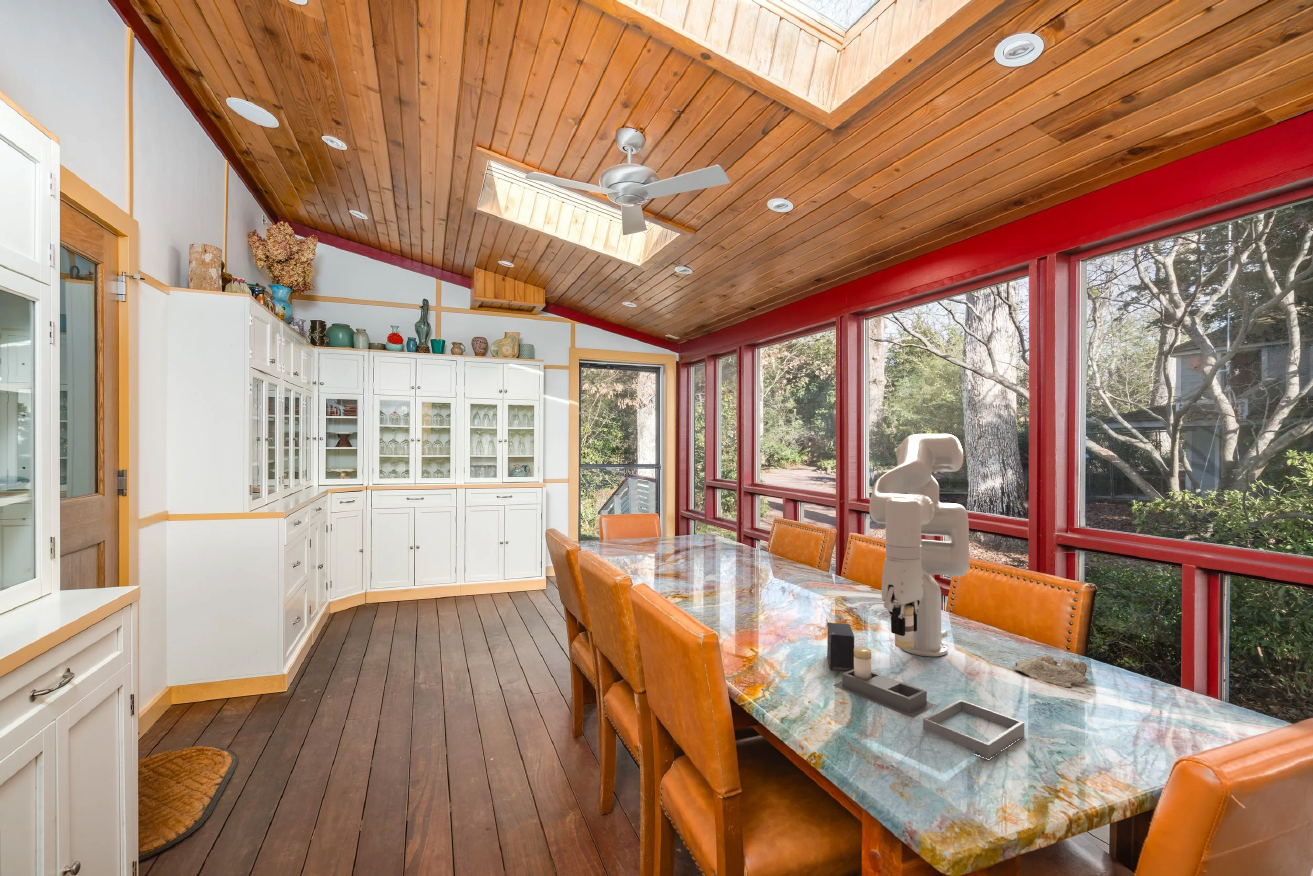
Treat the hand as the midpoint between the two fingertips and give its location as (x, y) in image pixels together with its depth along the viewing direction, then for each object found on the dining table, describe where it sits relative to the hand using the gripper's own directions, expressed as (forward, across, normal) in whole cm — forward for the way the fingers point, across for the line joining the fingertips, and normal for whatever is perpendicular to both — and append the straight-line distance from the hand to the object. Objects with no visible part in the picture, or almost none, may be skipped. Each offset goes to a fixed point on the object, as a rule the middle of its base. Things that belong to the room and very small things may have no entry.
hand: (904, 631), depth 136 cm
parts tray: (+17, 0, +16) cm, 23 cm away
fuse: (+16, 0, -11) cm, 20 cm away
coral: (+18, -47, +11) cm, 52 cm away
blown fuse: (+3, 0, 0) cm, 3 cm away
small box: (+18, -8, -23) cm, 30 cm away
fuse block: (+17, 0, -5) cm, 18 cm away
